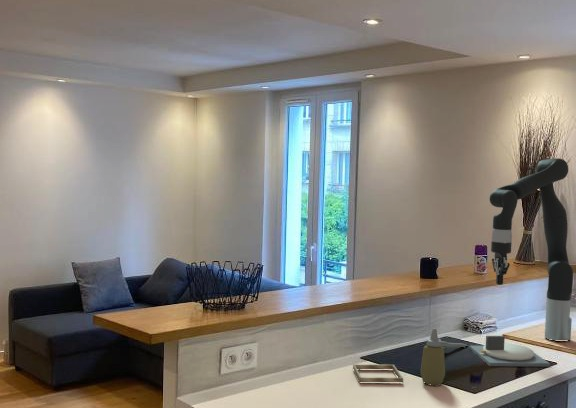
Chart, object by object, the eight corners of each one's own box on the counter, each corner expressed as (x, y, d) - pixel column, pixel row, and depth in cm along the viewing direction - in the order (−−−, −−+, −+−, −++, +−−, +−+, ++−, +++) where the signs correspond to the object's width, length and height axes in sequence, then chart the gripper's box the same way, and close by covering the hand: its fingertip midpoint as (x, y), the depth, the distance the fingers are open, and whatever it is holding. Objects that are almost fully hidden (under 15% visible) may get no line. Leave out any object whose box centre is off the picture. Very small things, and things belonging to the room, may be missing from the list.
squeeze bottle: (414, 380, 217) (417, 326, 216) (435, 378, 220) (438, 325, 219) (428, 388, 209) (430, 332, 208) (450, 386, 212) (452, 331, 211)
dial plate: (524, 349, 258) (524, 345, 258) (549, 366, 236) (549, 362, 236) (469, 348, 257) (469, 345, 257) (489, 366, 235) (489, 362, 235)
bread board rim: (393, 370, 227) (393, 364, 227) (403, 384, 213) (403, 378, 213) (352, 370, 226) (353, 364, 226) (359, 383, 212) (359, 377, 212)
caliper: (436, 355, 247) (436, 339, 247) (433, 355, 248) (434, 338, 247) (468, 347, 260) (468, 331, 260) (465, 346, 261) (466, 330, 261)
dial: (519, 346, 257) (520, 329, 256) (542, 360, 239) (543, 342, 238) (471, 346, 254) (472, 330, 254) (491, 360, 236) (492, 343, 236)
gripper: (486, 238, 264) (484, 281, 265) (498, 242, 251) (496, 287, 252) (504, 238, 265) (502, 281, 266) (517, 242, 252) (515, 287, 253)
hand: (499, 284), depth 259 cm, fingers closed
